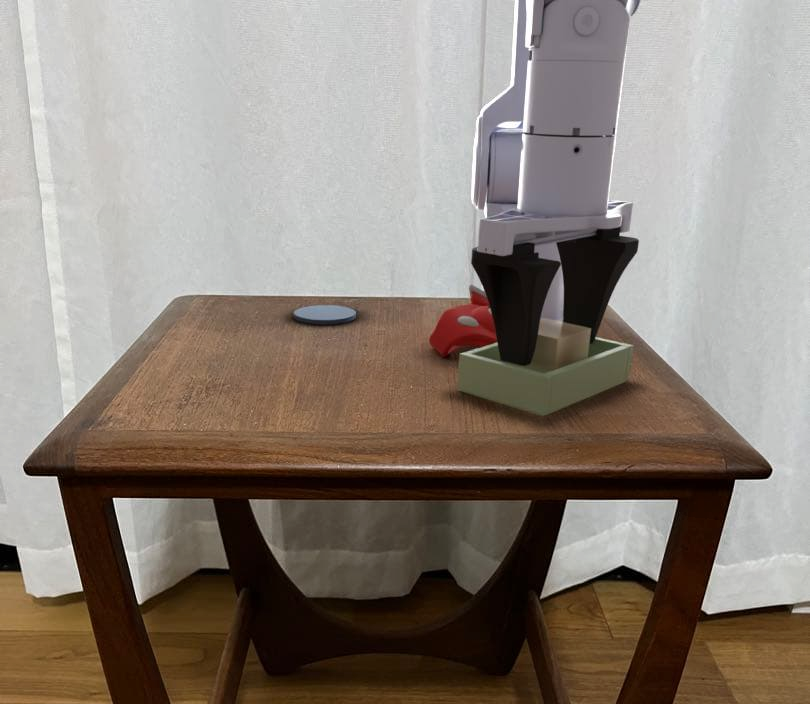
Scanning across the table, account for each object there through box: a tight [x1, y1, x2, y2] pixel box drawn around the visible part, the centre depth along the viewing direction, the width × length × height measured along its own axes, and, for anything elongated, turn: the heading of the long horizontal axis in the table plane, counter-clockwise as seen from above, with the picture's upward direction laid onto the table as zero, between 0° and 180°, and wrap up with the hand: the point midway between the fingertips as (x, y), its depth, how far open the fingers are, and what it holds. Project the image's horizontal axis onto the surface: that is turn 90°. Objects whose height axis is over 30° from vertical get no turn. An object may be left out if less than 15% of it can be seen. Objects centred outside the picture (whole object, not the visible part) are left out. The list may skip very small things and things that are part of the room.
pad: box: [293, 304, 357, 325], centre depth 79 cm, size 6×6×1 cm
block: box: [507, 318, 591, 374], centre depth 61 cm, size 4×4×4 cm
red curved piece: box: [428, 284, 497, 358], centre depth 70 cm, size 12×4×10 cm
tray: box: [457, 336, 634, 417], centre depth 61 cm, size 11×7×3 cm
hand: (548, 351), depth 60 cm, fingers open, 7 cm apart
